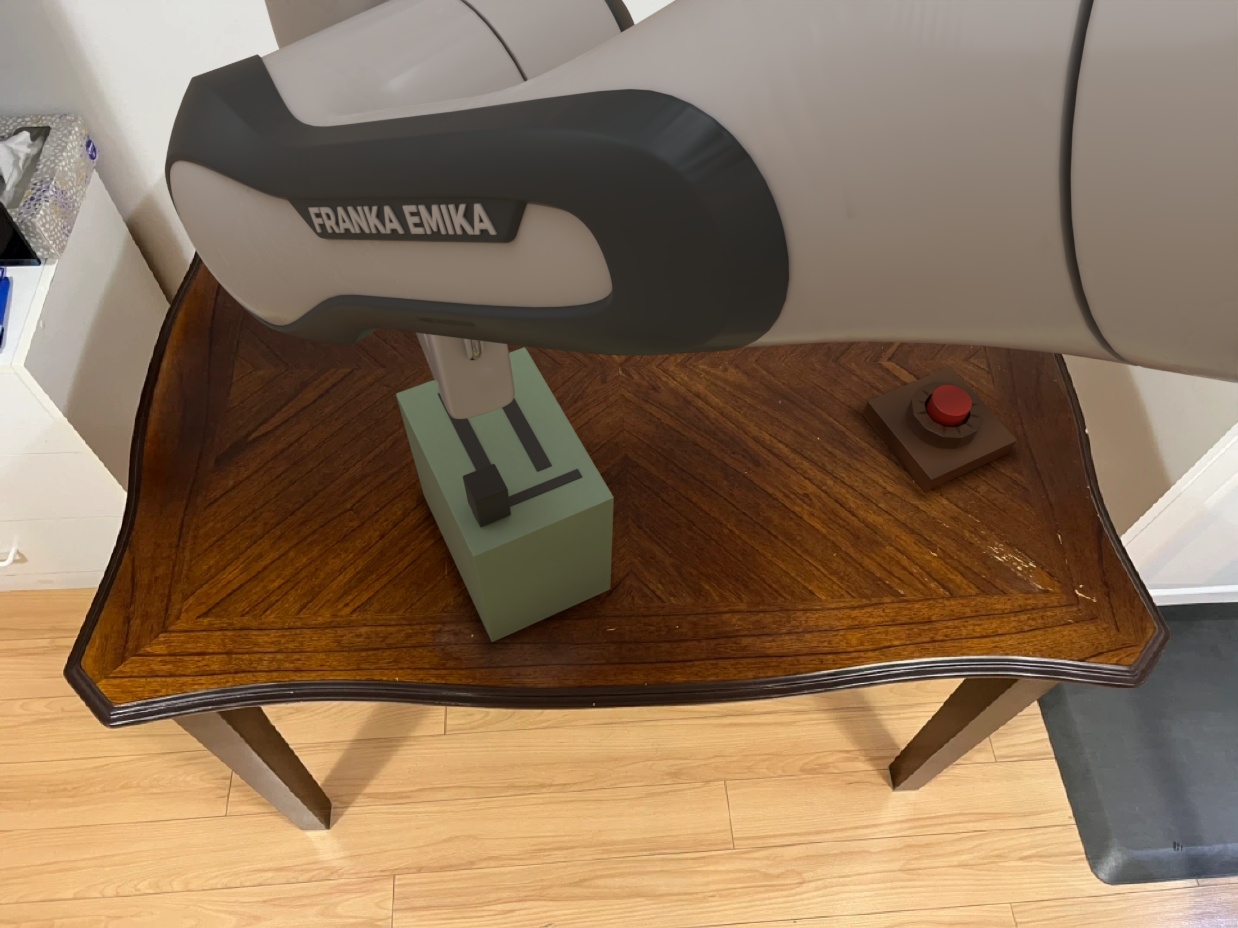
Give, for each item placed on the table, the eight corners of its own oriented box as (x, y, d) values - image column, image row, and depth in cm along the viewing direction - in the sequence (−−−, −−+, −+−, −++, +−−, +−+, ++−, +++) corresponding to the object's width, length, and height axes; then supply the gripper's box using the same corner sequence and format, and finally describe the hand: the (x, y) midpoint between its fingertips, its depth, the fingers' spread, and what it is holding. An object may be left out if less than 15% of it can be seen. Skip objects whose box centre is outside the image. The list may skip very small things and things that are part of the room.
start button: (973, 418, 88) (980, 407, 87) (942, 432, 87) (948, 421, 86) (949, 391, 90) (955, 379, 89) (919, 404, 89) (924, 392, 88)
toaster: (610, 589, 82) (614, 497, 69) (491, 642, 79) (472, 556, 66) (534, 451, 89) (525, 345, 77) (423, 495, 86) (395, 392, 74)
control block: (1008, 453, 91) (1024, 429, 87) (924, 492, 88) (937, 468, 85) (943, 379, 95) (956, 353, 92) (862, 414, 93) (872, 389, 89)
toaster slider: (511, 515, 68) (508, 489, 65) (480, 528, 67) (475, 502, 64) (498, 489, 69) (494, 462, 66) (467, 502, 68) (462, 475, 65)
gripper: (536, 285, 43) (549, 459, 54) (412, 41, 53) (445, 230, 65) (400, 323, 41) (443, 493, 53) (300, 65, 52) (354, 253, 63)
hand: (443, 346), depth 59 cm, fingers open, 8 cm apart
